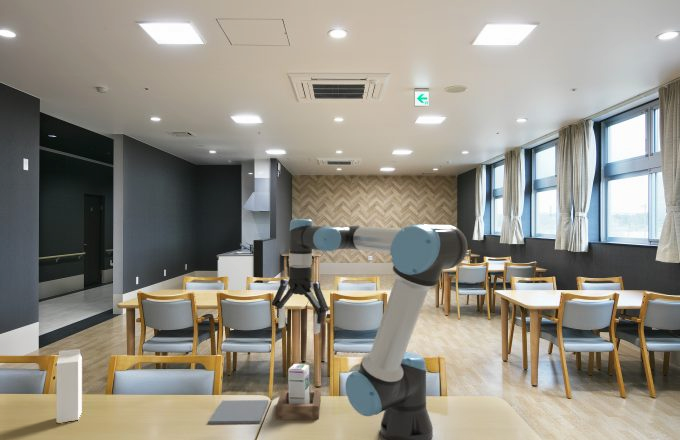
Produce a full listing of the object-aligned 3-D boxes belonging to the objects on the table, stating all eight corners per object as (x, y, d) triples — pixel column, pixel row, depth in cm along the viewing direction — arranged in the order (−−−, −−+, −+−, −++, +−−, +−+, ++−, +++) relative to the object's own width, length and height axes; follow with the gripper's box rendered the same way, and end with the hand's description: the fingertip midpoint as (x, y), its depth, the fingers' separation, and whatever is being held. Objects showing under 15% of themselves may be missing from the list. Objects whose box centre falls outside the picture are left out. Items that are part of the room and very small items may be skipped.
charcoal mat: (268, 402, 151) (268, 400, 151) (260, 423, 135) (260, 420, 135) (222, 402, 151) (222, 400, 151) (208, 423, 135) (208, 421, 135)
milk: (61, 416, 141) (60, 348, 142) (82, 413, 143) (82, 346, 144) (56, 424, 136) (56, 353, 136) (78, 421, 138) (78, 351, 138)
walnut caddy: (320, 401, 151) (320, 390, 151) (318, 418, 138) (318, 406, 138) (281, 402, 151) (281, 390, 151) (276, 419, 138) (276, 406, 138)
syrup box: (305, 414, 141) (305, 369, 141) (288, 413, 142) (287, 368, 143) (310, 407, 147) (309, 364, 147) (293, 405, 148) (293, 363, 148)
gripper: (339, 267, 141) (338, 332, 141) (275, 262, 152) (273, 322, 152) (328, 270, 134) (327, 338, 135) (262, 264, 145) (261, 327, 145)
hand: (299, 330), depth 143 cm, fingers open, 13 cm apart
